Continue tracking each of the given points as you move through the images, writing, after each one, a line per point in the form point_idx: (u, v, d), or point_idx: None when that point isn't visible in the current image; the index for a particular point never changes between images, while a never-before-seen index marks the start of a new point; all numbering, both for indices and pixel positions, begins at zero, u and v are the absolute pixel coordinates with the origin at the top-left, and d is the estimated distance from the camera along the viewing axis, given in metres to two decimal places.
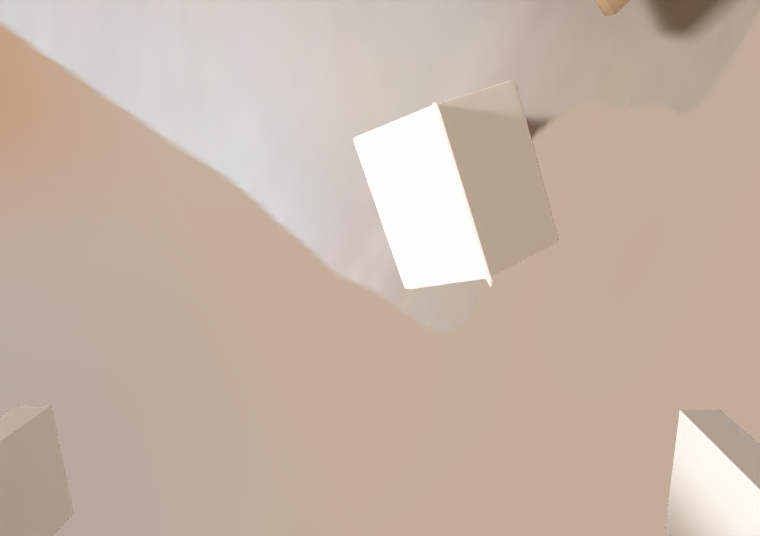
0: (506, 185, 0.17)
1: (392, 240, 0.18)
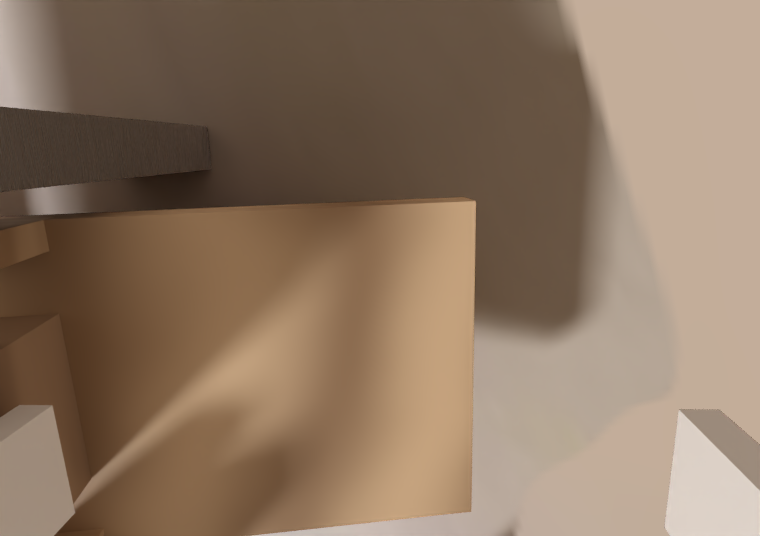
0: None
1: None
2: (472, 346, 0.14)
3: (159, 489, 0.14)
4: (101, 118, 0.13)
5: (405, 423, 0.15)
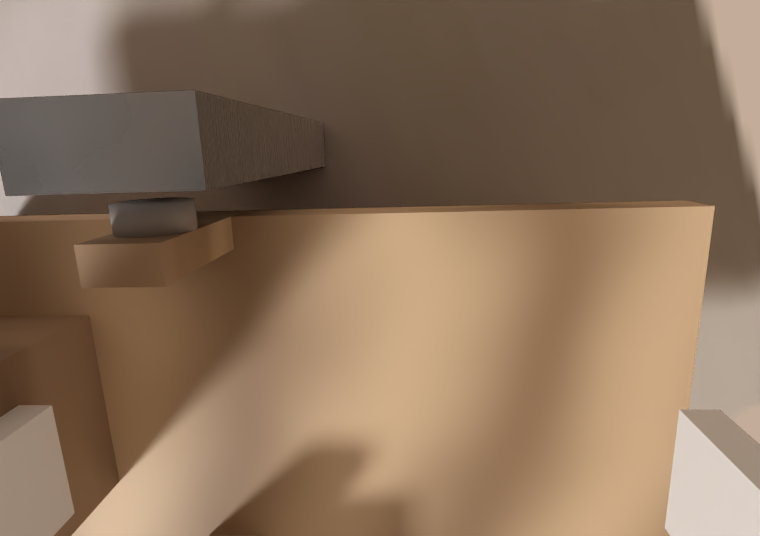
0: None
1: None
2: (690, 380, 0.12)
3: (321, 503, 0.14)
4: (274, 112, 0.12)
5: (597, 462, 0.13)
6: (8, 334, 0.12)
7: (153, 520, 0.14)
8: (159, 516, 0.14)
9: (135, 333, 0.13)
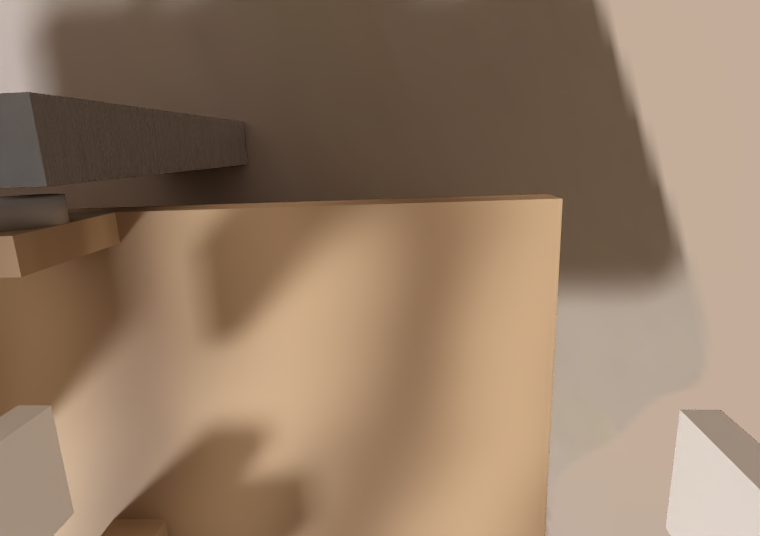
0: None
1: None
2: (552, 361, 0.13)
3: (218, 486, 0.14)
4: (160, 112, 0.13)
5: (473, 441, 0.14)
6: None
7: None
8: None
9: (30, 325, 0.13)
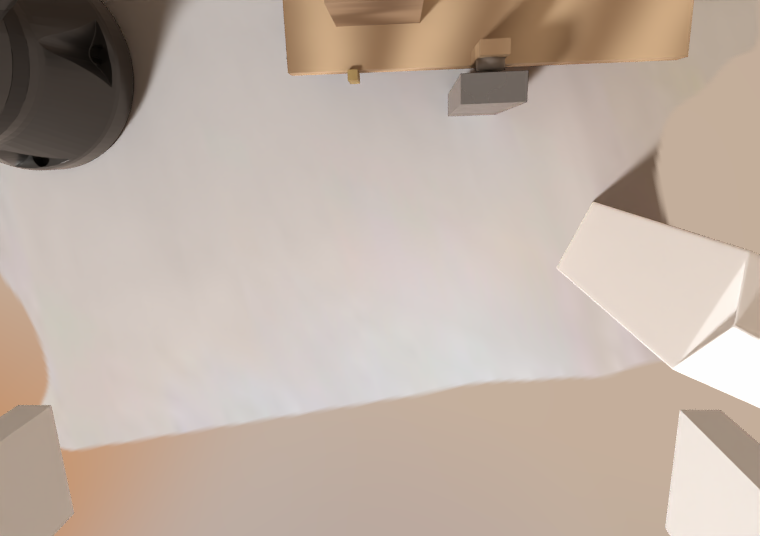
0: None
1: (755, 402, 0.22)
2: None
3: (528, 28, 0.29)
4: None
5: None
6: None
7: (444, 45, 0.30)
8: (447, 42, 0.30)
9: None
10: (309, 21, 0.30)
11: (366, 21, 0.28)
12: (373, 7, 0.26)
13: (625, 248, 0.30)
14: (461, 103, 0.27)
